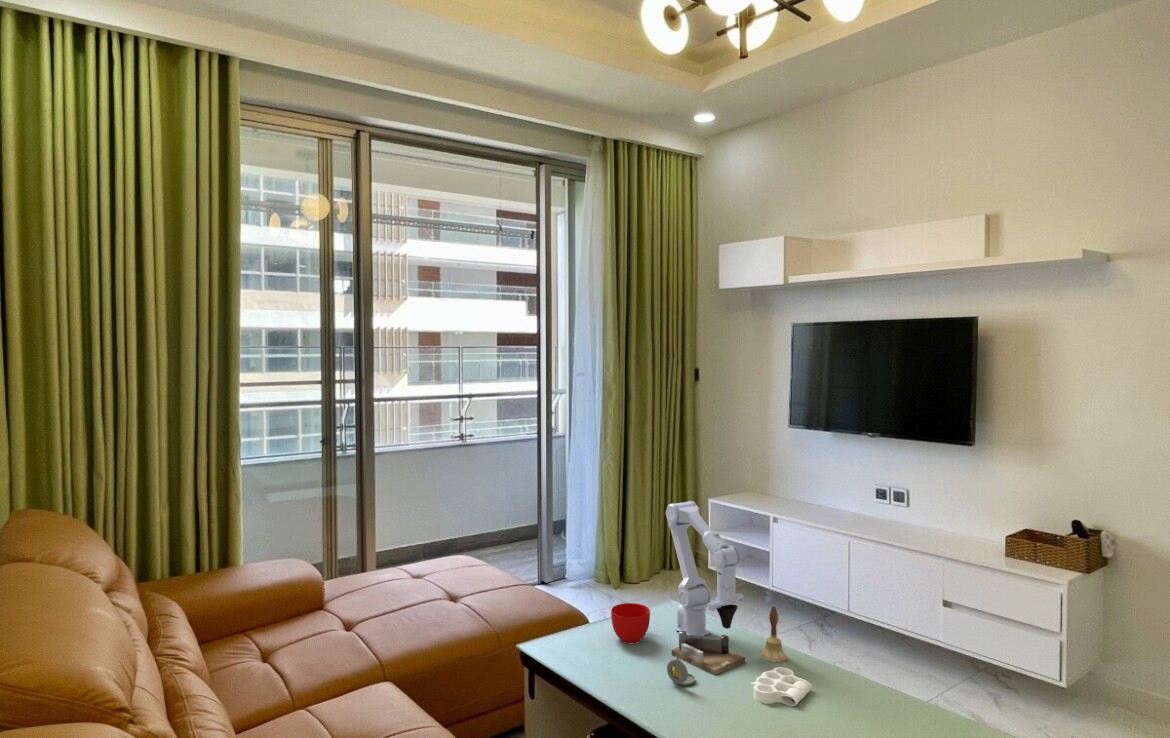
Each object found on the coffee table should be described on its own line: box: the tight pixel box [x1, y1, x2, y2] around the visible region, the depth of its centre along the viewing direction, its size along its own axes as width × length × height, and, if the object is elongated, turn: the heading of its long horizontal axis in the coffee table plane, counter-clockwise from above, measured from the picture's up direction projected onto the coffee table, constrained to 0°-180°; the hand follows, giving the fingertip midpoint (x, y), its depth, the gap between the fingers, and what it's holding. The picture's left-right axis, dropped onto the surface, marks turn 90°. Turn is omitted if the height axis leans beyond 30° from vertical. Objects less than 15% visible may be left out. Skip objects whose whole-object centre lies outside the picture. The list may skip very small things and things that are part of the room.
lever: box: [678, 631, 730, 654], centre depth 223 cm, size 16×3×5 cm, turn 78°
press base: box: [671, 643, 746, 676], centre depth 221 cm, size 18×14×4 cm
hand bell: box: [759, 605, 788, 663], centre depth 222 cm, size 8×8×16 cm
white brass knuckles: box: [750, 666, 813, 707], centre depth 200 cm, size 3×18×15 cm
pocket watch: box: [666, 652, 696, 686], centre depth 206 cm, size 8×8×10 cm
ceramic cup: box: [610, 602, 651, 644], centre depth 237 cm, size 13×17×10 cm
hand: (726, 627), depth 226 cm, fingers closed
